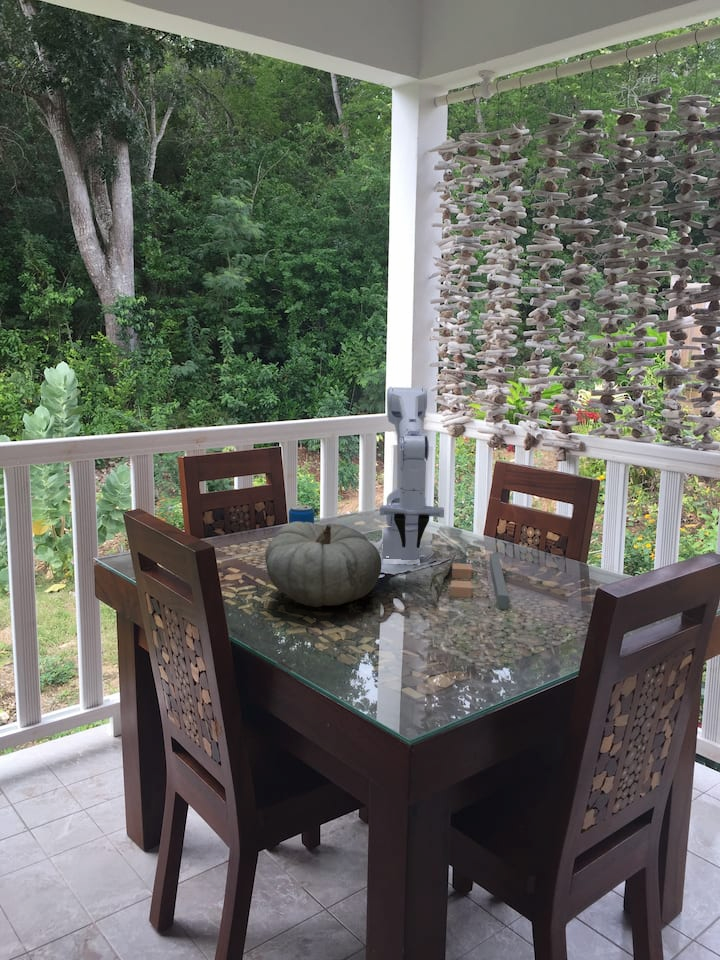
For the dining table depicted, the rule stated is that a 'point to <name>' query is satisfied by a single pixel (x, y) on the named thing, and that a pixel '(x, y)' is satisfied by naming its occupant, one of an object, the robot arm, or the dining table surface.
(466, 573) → the tile
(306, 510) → the beverage can
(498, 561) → the slate curb
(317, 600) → the gourd
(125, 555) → the dining table surface
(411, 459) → the robot arm
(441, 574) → the driftwood
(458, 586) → the tile
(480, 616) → the dining table surface
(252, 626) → the dining table surface
